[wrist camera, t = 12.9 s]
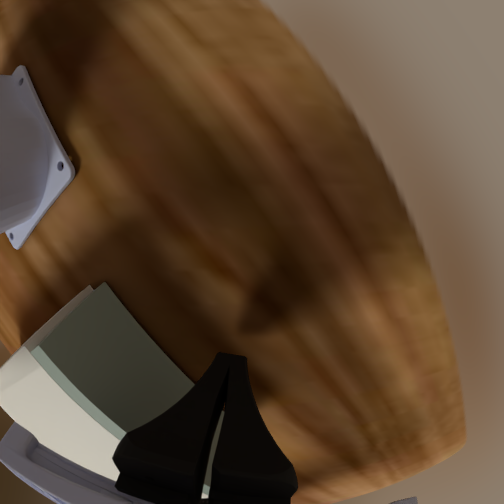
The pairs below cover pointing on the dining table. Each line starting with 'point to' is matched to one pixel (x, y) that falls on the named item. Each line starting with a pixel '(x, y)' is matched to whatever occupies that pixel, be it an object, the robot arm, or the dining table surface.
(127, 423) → the grey green drawer
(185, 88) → the dining table surface
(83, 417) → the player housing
